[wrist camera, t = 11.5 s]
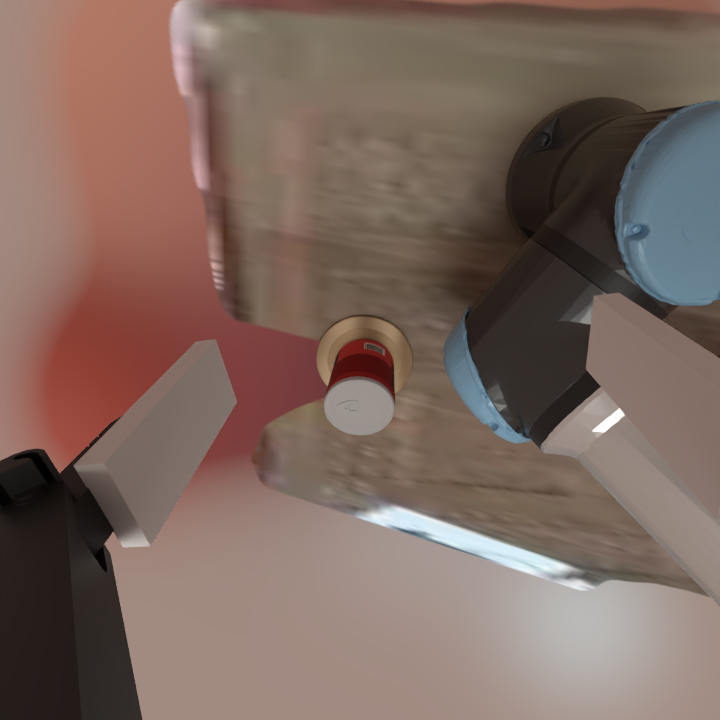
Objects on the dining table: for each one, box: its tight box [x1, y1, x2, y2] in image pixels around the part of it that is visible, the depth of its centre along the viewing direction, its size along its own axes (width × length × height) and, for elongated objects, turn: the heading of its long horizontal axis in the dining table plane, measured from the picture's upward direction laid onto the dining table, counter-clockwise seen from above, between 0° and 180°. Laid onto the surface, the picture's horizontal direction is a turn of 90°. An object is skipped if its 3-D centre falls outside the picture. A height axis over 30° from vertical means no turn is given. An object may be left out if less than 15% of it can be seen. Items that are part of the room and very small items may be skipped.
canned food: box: [324, 339, 395, 435], centre depth 51 cm, size 8×8×11 cm
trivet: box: [317, 315, 412, 393], centre depth 56 cm, size 13×13×1 cm
